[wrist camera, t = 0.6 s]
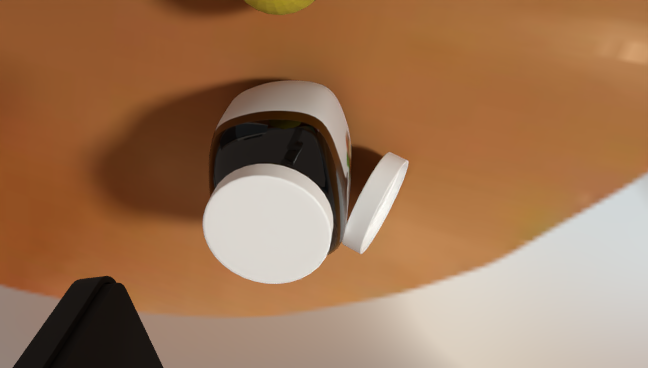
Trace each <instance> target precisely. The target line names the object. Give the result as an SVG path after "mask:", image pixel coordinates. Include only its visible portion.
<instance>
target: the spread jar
mask: <svg viewBox="0 0 648 368" xmlns="http://www.w3.org/2000/svg"><path fill="white" fill-rule="evenodd" d="M407 168H408V160H406V159H404V158H401V157H399V156H397V155H395V154H393V153H391V152H388V153H387V154H385V155H384V157H383V158H382V159H381V160H380V162H379V163H378V164H377V166H376V167H375V169H374V170H373V172H372V174H371V175H370V177H369V179H368V181H367V182H366V184H365V186H364V188H363V190H362V192H361V194H360V195H359V198H358V200H357V202H356V204H355V206H354V208H353V210H352V213H351V215H350V217H349V220H348V222H347V215H348V206H349V197H350V187H351V140H350V134H349V129H348V125H347V122H346V118H345V116H344V113H343V110H342V108H341V105H340V103H339V101H338V99H337V98H336V96H335V95H334V93H333V92H332V91H331V90H330V89H328V88H327V87H325V86H323V85H321V84H318V83H314V82H308V81H298V80H286V81H276V82H270V83H266V84H262V85H259V86H255V87H253V88H250V89H248V90H246V91H244V92H242V93H240V94H239V95H238V96H236V97H235V98H234V99H233V101H232V102H231V104H230V105H229V107H228V108H227V109H226V111H225V113H224V114H223V116H222V118H221V119H220V121H219V123H218V125H217V127H216V130H215V133H214V136H213V139H212V143H211V149H210V155H209V190H210V199H209V201H208V203H207V205H206V208H205V211H204V215H203V231H204V237H205V239H206V242H207V244H208V247H209V248H210V250H211V251H212V253H213V254H214V256H215V257H216V258H217V259H218V260H219V261H220V262H221V263H222V264H223V265H224V266H225V267H227V268H228V269H229V270H231V271H232V272H234V273H236V274H237V275H239V276H241V277H243V278H246V279H249V280H252V281H255V282H261V283H267V284H280V283H288V282H292V281H295V280H298V279H301V278H303V277H305V276H307V275H309V274H310V273H312V272H313V271H314V270H315V269H317V268H318V267H319V266H320V264H321V263H322V262H323V260H324V259H325V257H326V256H327V255H329V254H331V253H332V252H334V251H335V250H336V249H337V248H338V247H339V245H340V243H341V242H342V243H343V245H345V246H347V247H349V248H351V249H353V250H354V251H356V252H358V253H360V254H362V253H363V252H364V251H365V250H366V249H367V248H368V246H369V245H370V243H371V242H372V240H373V239H374V237H375V236H376V234H377V232H378V230H379V229H380V227H381V225H382V223H383V222H384V220H385V218H386V216H387V214H388V212H389V210H390V208H391V206H392V204H393V202H394V200H395V198H396V196H397V194H398V191H399V189H400V187H401V184H402V182H403V179H404V177H405V174H406V171H407ZM346 223H347V225H346Z"/></svg>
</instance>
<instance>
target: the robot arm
mask: <svg viewBox="0 0 648 368" xmlns="http://www.w3.org/2000/svg"><path fill="white" fill-rule="evenodd" d="M13 368H163V366H162V364H161V362H160V360H159V358H158V355H157V353H156V351H155V349H154V347H153V345H152V343H151V341H150V339H149V336H148V334H147V332H146V330H145V328H144V326H143V324H142V322H141V320H140V318H139V315H138V313H137V311H136V309H135V307H134V305H133V303H132V301H131V299H130V297H129V294H128V292H127V290H126V288H125V287H124V285H122V284H121V283H116V281H115V280H114V279H113V278H112V277H109V276H102V277H94V278H86V279H79V280H76V281H75V282H74V283H73V284H72V285H71V286H70V288H69V289H68V290H67V292H66V293H65V295H64V296H63V298H62V299H61V300H60V302H59V303H58V305H57V306H56V307H55V309H54V310H53V312H52V313H51V315H50V316H49V317H48V319H47V320H46V322H45V323H44V324H43V326H42V327H41V329H40V330H39V332H38V333H37V334H36V336H35V337H34V338H33V340H32V341H31V343H30V344H29V346H28V347H27V348H26V350H25V351H24V353H23V354H22V355H21V357H20V358H19V360H18V361H17V362H16V364H15V365H14V367H13Z"/></svg>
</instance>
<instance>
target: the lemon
mask: <svg viewBox="0 0 648 368" xmlns="http://www.w3.org/2000/svg"><path fill="white" fill-rule="evenodd" d="M244 1H245V2H246V3H247V4H249V5H250V6H252V7H253V8H255V9H257V10H259V11H262V12H265V13H268V14H276V15H285V14H290V13H295V12H297V11H299V10H302V9H304V8H306V7H308V6H309V5H310V4H311V3H312V2H314V1H315V0H244Z"/></svg>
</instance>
